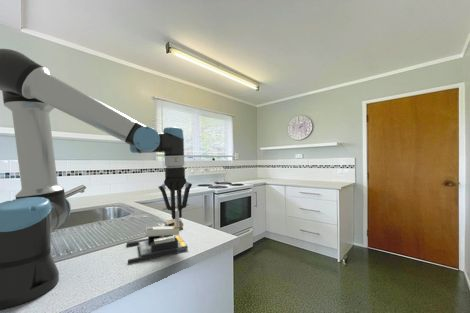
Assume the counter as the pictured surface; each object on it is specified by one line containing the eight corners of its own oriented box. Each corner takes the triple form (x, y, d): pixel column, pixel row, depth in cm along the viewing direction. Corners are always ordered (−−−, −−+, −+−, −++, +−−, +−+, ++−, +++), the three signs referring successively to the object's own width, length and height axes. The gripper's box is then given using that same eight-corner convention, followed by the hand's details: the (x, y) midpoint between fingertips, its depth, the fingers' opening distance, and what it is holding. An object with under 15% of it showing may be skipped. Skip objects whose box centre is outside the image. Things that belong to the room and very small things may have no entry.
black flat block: (141, 259, 73) (141, 244, 73) (138, 246, 84) (138, 232, 84) (187, 250, 80) (187, 236, 80) (179, 238, 92) (179, 226, 92)
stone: (165, 232, 100) (165, 222, 101) (164, 225, 110) (164, 216, 110) (183, 230, 103) (183, 220, 103) (181, 224, 113) (181, 215, 113)
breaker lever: (145, 236, 78) (146, 229, 78) (144, 233, 81) (145, 226, 81) (178, 234, 83) (179, 228, 84) (176, 232, 86) (177, 225, 87)
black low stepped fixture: (127, 263, 70) (127, 260, 70) (126, 244, 86) (126, 241, 86) (182, 252, 78) (182, 249, 78) (172, 236, 94) (172, 234, 94)
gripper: (159, 168, 78) (161, 232, 79) (193, 166, 84) (195, 226, 85) (156, 167, 85) (158, 226, 85) (188, 165, 91) (190, 221, 91)
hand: (177, 226), depth 85 cm, fingers closed
